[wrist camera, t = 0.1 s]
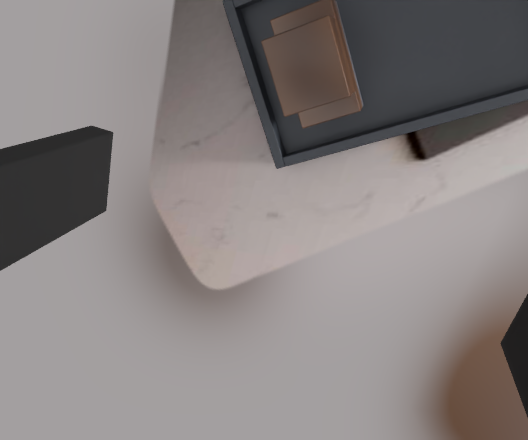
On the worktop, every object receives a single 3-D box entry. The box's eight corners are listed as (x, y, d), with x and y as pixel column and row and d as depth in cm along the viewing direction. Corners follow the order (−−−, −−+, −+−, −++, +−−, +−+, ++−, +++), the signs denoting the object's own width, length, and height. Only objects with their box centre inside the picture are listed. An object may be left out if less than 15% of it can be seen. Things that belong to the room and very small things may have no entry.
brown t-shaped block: (310, 121, 37) (290, 139, 30) (280, 22, 35) (252, 16, 28) (363, 105, 36) (356, 119, 29) (336, 0, 34) (321, -12, 27)
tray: (282, 162, 40) (276, 169, 38) (231, 3, 37) (222, 1, 34) (559, 85, 33) (571, 88, 31) (529, -124, 29) (540, -137, 27)
